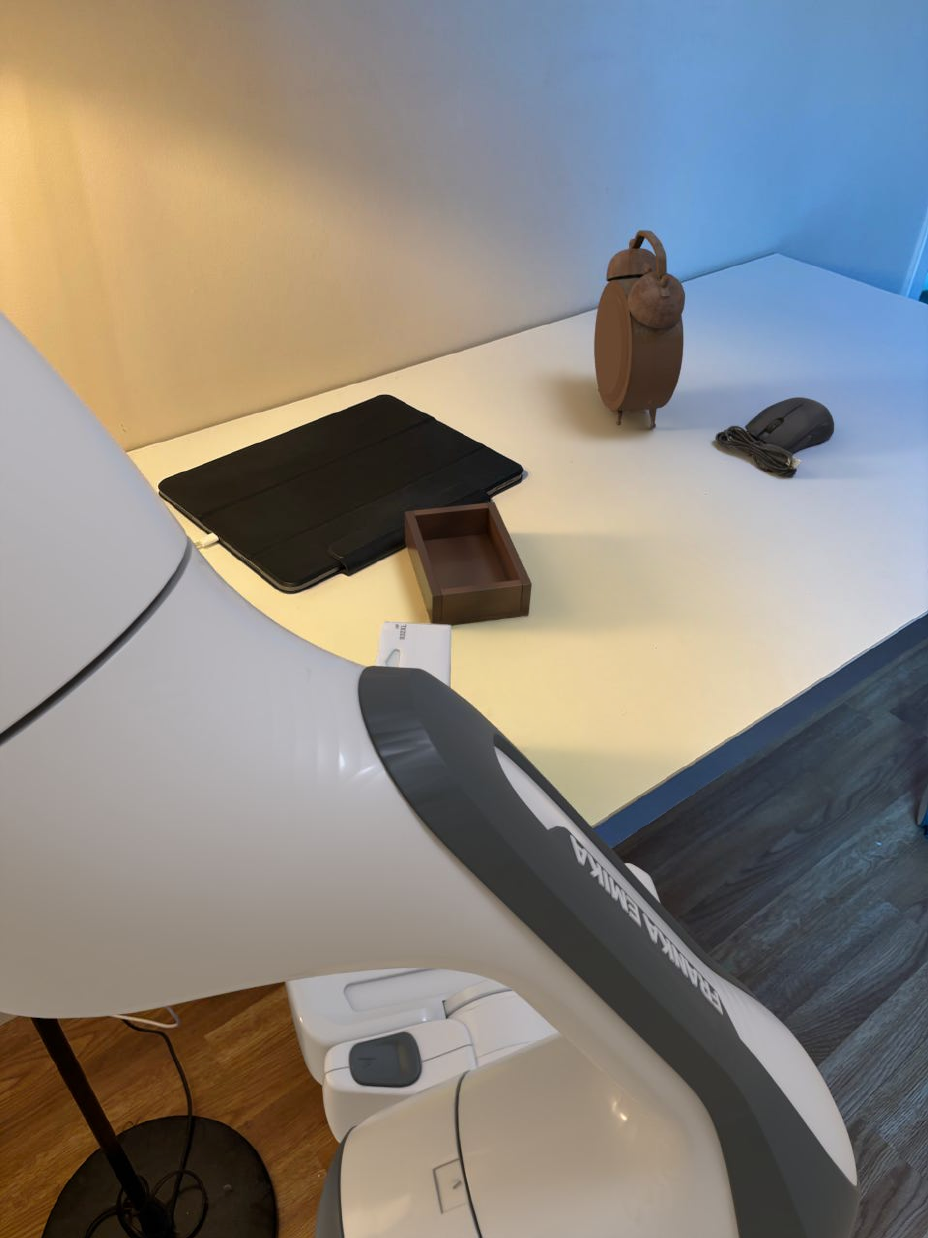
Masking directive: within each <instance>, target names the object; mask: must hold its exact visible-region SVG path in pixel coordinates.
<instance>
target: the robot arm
mask: <svg viewBox="0 0 928 1238" xmlns="http://www.w3.org/2000/svg"><path fill="white" fill-rule="evenodd" d="M279 983H284V985H285V990H286V996H287V999H288V1004H289V1009H290V1013H291V1017H292V1018H291V1019H292V1022H293V1026H294V1030H295V1034H296V1037H297V1041H298V1045H299V1048H300V1052H301V1054H302V1057H303V1060H304V1062H305V1065H306V1067H307V1069H308V1071H309V1073H310V1074H311V1076H312V1077H313V1079H314V1080H315V1081H316V1082H317V1083H318V1084H320V1085H321V1086H322V1087H321V1091H322V1092H321V1093H322V1102H323V1108H324V1113H325V1117H326V1120H327V1123H328V1126H329V1128H330V1131H331V1134H333V1136H334V1138H335V1140H336V1141H337V1142H338V1143H339V1145H338V1147H337V1148H336V1151H335V1152H334V1155H333V1157H332V1160H331V1162H330V1164H329V1166H328V1169H327V1172H326V1174H325V1178H324V1182H323V1185H322V1189H321V1194H320V1197H319V1202H318V1206H317V1213H316V1218H315V1225H314V1238H851V1237H852V1234H853V1231H854V1227H855V1223H856V1220H857V1215H858V1212H859V1208H860V1203H861V1198H862V1193H863V1189H862V1185H861V1181H860V1179H859V1176H858V1172H857V1166H856V1165H857V1164H856V1159H855V1156H854V1151H853V1147H852V1143H851V1140H850V1136H849V1133H848V1131H847V1127H846V1125H845V1121H844V1119H843V1118H842V1115H841V1112H840V1110H839V1108H838V1106H837V1103H836V1102H835V1099H834V1098H833V1094H832V1093H831V1090H830V1089H829V1087H828V1085H827V1083H826V1082H825V1080H824V1077H823V1076H822V1074H821V1073H820V1071H819V1069H818V1068H817V1066H816V1064H815V1063H814V1061H813V1060H812V1057H811V1056H810V1055H809V1053H808V1052H807V1051H806V1050H805V1048H804V1046H803V1045H802V1044H801V1042H799V1040H798V1038H796V1036H795V1035H794V1034H793V1033H792V1032H791V1030H790V1029H789V1028H788V1027H787V1026H786V1025H785V1024H784V1023H783V1022H782V1020H780V1019H779V1018H778V1017H777V1016H776V1015H775V1014H774V1013H773V1012H772V1011H771V1010H769V1009H768V1007H766V1006H764V1005H763V1004H762V1003H761V1001H760V999H758V997H757V996H756V995H755V993H753V992H752V991H751V990H750V988H748V987H747V986H746V985H745V984H744V983H743V982H741V981H740V980H739V979H738V978H736V977H735V976H734V975H732V974H731V973H729V972H728V971H727V970H726V969H724V968H723V967H722V966H721V965H719V964H718V963H717V962H716V961H715V960H713V958H712V957H711V956H709V954H707V953H706V951H705V950H703V949H702V948H701V946H700V945H699V944H698V943H697V942H696V941H695V940H694V939H693V938H692V937H691V935H689V934H688V932H687V931H686V930H685V929H684V928H683V926H681V925H680V923H679V922H678V921H677V920H676V919H675V918H674V917H673V916H672V914H670V912H669V911H668V910H667V909H666V908H665V907H664V906H663V905H662V903H661V900H660V898H659V894H658V892H657V890H656V886H655V884H654V882H653V880H652V877H651V876H650V875H649V874H648V873H647V872H645V871H644V870H643V869H641V868H640V867H638V866H636V865H634V864H633V863H630V862H628V863H627V862H626V863H625V862H624V861H623V860H622V858H620V857H619V856H618V855H617V854H616V852H615V851H614V850H613V849H612V848H611V847H610V846H609V845H608V843H607V842H605V840H604V839H603V838H602V837H601V836H600V835H599V834H598V833H597V831H596V830H595V829H594V828H593V827H592V826H591V824H590V823H588V821H587V820H586V819H585V818H584V817H583V816H582V815H581V814H580V813H579V812H578V810H577V809H575V807H574V806H573V805H572V804H571V803H570V802H569V801H568V800H567V798H565V796H563V794H562V793H561V792H560V791H559V789H557V788H556V787H555V786H554V785H553V784H552V783H551V781H550V780H549V779H548V778H547V777H546V776H545V775H544V774H543V773H542V771H540V770H539V769H538V767H536V765H534V764H533V762H532V761H531V760H530V759H528V757H527V756H526V755H525V754H524V753H523V752H522V751H521V750H520V749H519V748H518V747H517V746H516V744H514V743H513V742H512V741H511V740H510V739H509V738H508V737H507V736H506V735H505V734H504V733H503V732H502V731H501V730H500V729H499V728H498V727H496V725H495V724H493V723H492V722H491V721H490V720H489V719H488V718H487V717H486V716H485V715H484V714H483V713H482V712H481V711H480V710H479V709H478V708H476V707H475V706H474V705H473V704H471V703H470V702H469V701H468V700H467V699H465V698H464V697H463V696H462V695H461V694H459V693H458V692H457V691H455V689H453V688H452V687H451V688H450V687H449V686H447V685H446V684H444V683H443V682H442V681H440V680H439V679H437V678H436V677H434V676H433V675H432V674H430V673H428V672H427V671H425V670H422V669H419V668H403V667H387V666H375V665H367V666H366V665H364V664H361V663H358V662H355V661H353V660H351V659H347V658H345V657H343V656H341V655H338V654H336V653H334V652H332V651H329V650H327V649H324V648H322V647H321V646H319V645H316V644H315V643H313V642H311V641H309V640H307V639H305V638H304V637H301V636H300V635H298V634H296V633H295V632H293V631H291V630H289V628H287V627H285V626H283V625H281V624H280V623H278V622H277V621H275V620H274V619H272V618H271V617H270V616H268V615H267V614H265V613H264V612H263V611H261V609H259V608H258V607H256V606H255V605H254V604H252V603H251V602H250V601H249V600H248V599H247V598H245V597H244V596H243V595H242V594H240V592H238V591H237V590H236V589H235V588H234V587H233V586H231V584H230V583H228V582H227V581H226V580H225V578H223V576H221V574H220V573H219V572H218V571H217V570H216V569H215V568H214V567H213V565H211V563H210V562H209V561H208V559H207V558H206V557H205V556H204V555H203V554H202V551H200V549H199V548H198V547H197V545H196V543H195V542H194V541H193V540H192V538H191V536H189V535H188V534H187V532H186V530H185V528H184V527H183V526H182V524H181V523H180V522H179V520H178V519H177V517H176V516H175V515H174V513H173V512H172V511H171V509H170V508H169V506H168V505H167V504H166V502H165V501H164V499H163V498H162V497H161V496H160V495H159V493H158V491H157V490H156V489H155V488H154V486H153V485H152V483H151V482H150V481H149V480H148V478H147V477H146V476H145V474H144V473H143V472H142V470H141V469H140V468H139V466H138V465H137V464H136V463H135V462H134V460H133V459H132V457H131V456H130V455H129V454H128V452H127V451H126V450H125V449H124V448H123V447H122V445H121V444H120V443H119V442H118V440H117V439H116V438H115V436H113V434H112V433H111V432H110V430H109V429H108V428H107V426H106V425H105V424H104V423H103V422H102V421H101V419H100V418H99V417H98V416H97V414H96V413H95V412H94V411H93V410H92V409H91V407H90V406H89V405H88V404H87V403H86V402H85V401H84V399H83V398H82V397H81V396H80V395H79V393H77V391H76V390H75V389H74V388H73V387H72V386H71V385H70V383H69V382H68V381H67V380H66V379H65V378H64V376H62V374H61V373H60V372H59V370H57V369H56V368H55V366H54V365H53V364H52V363H51V362H50V360H48V359H47V358H46V356H45V355H44V354H43V353H42V351H41V350H40V349H39V348H38V347H37V346H36V345H35V344H34V343H33V342H32V341H31V340H30V339H29V338H28V337H27V336H26V335H25V334H24V333H23V332H22V331H21V330H20V329H19V327H17V325H16V324H15V323H14V322H13V321H12V320H11V319H10V318H9V317H8V316H7V315H6V313H4V311H2V309H0V1013H3V1014H9V1015H13V1016H19V1017H27V1018H40V1019H82V1018H83V1019H85V1018H87V1019H88V1018H102V1017H110V1016H119V1015H128V1014H134V1013H140V1012H145V1011H150V1010H155V1009H161V1008H165V1007H170V1006H174V1005H178V1004H184V1003H187V1002H193V1001H197V1000H200V999H206V998H211V997H215V996H220V995H224V994H229V993H233V992H238V991H244V990H247V989H253V988H258V987H263V986H269V985H274V984H279Z"/></svg>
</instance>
